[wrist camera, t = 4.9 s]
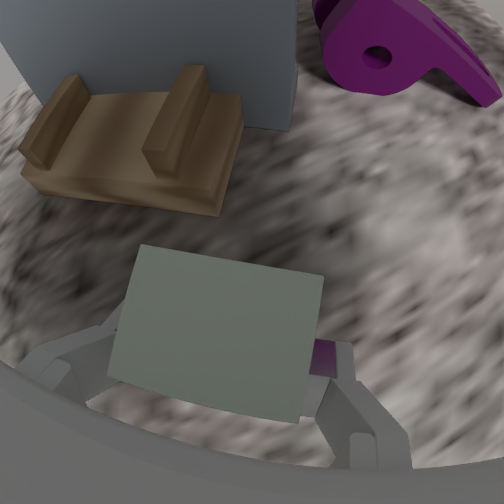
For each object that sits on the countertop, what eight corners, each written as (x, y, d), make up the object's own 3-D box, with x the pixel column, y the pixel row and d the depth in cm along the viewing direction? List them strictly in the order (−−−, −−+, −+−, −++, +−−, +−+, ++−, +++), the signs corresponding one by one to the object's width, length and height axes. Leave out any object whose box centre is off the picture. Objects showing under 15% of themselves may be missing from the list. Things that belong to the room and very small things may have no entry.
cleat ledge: (244, 126, 20) (237, 62, 15) (218, 217, 18) (200, 159, 13) (79, 122, 22) (51, 76, 17) (42, 194, 20) (0, 153, 15)
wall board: (296, 85, 22) (303, -141, 5) (288, 131, 20) (294, -149, 3) (81, 85, 24) (9, -61, 7) (56, 123, 22) (-40, -30, 6)
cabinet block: (290, 330, 16) (324, 275, 6) (279, 388, 15) (298, 424, 5) (213, 316, 16) (141, 243, 7) (201, 372, 15) (106, 375, 6)
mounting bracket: (429, 92, 29) (297, 14, 23) (477, 54, 22) (343, -49, 16) (453, 154, 26) (302, 68, 20) (514, 115, 19) (369, -15, 13)
